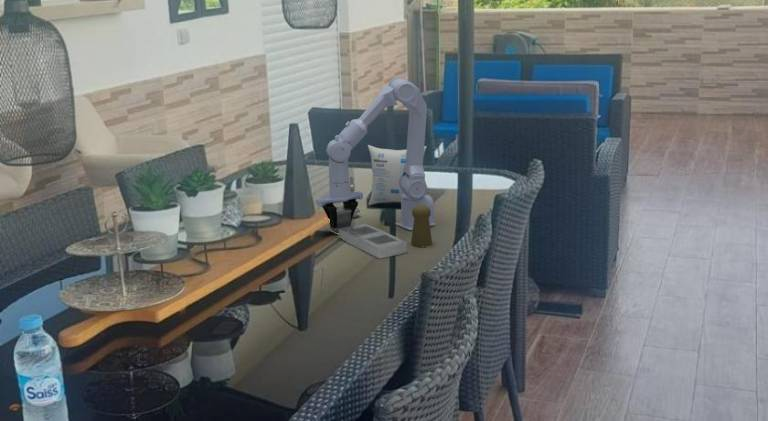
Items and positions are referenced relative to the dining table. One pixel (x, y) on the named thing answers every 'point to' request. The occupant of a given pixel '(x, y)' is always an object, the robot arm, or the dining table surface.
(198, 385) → the dining table surface
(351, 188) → the screw
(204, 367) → the dining table surface
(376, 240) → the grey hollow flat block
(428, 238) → the cork
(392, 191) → the pouch
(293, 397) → the dining table surface
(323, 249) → the dining table surface
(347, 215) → the grey rectangular block
